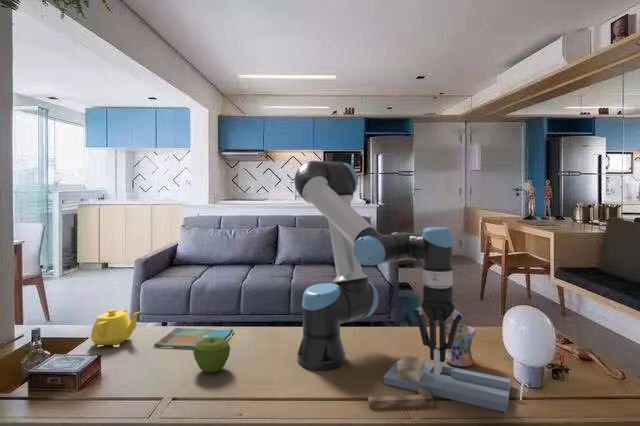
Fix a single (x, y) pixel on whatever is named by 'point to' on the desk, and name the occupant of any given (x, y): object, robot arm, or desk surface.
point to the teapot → (113, 327)
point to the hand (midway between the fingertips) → (437, 372)
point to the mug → (460, 346)
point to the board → (458, 386)
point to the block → (411, 368)
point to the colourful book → (190, 337)
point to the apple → (211, 354)
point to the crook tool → (402, 400)
